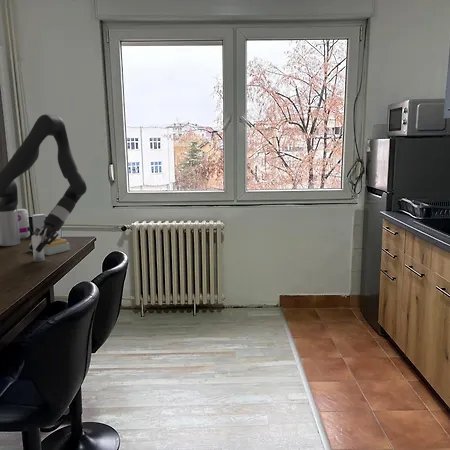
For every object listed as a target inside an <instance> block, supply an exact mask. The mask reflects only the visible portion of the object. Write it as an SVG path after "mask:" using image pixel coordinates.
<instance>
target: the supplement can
mask: <svg viewBox="0 0 450 450" xmlns="http://www.w3.org/2000/svg"><path fill="white" fill-rule="evenodd" d="M17 214H18V223H19V233H20V239H25V238H29V237H30V236H31V232H30V222H29V221H30V220H29V212H28V210H27V209H26V208H17Z"/></svg>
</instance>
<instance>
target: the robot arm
mask: <svg viewBox="0 0 450 450" xmlns="http://www.w3.org/2000/svg"><path fill="white" fill-rule="evenodd" d="M48 136H50V137H51V136H53V138H54V141H55V142H56V145H57V163H58V166H59V169H60V172H61V174H62V176H63V177H64V179H66V180H67V182H68V185H69V186H68V187H67V189H66V191H65V193H64V194H63V195H62V197H61V198H60V199H59V200H58V201H57V203H56V204H55V206H54V207H53V208H52V209H51V210H50V212H49V213H48V215H47V216H45V220H44V226H43V227H42V228H41V229H39V228H37V229H36V230H35V232H38V234H42V235H43V236H42V238H43V239H42V241H41V242H42V243H40V244H39V245H38V246H37V248H36V251H38V252H41V250H42V249H43V248H44V246H45V245H47V244H48V245H50V244H51V243H52V242H53V241H54V240H55V238H56V237H57V236H58V235H59V234H58V233H57V232H56V231H59V230H60V229H61V230H62V228H63V226H64V225H65V223H66V222H67V220H68V219H69V216H70V214H71V213H72V212H73V210H74V209H75V206H76V205H77V204H78V202H79V200H80V199H81V198H82V197H83V195H85V193H87V184H86V181H85V180H84V178H83V176H82V175H81V174H80V172H79V169H78V167H77V164H76V162H75V159H74V157H73V153H72V150H71V146H70V142H69V137H68V134H67V129H66V124H65V122H64V120H63V119H62V118H61V116H58V115H54V114H41V115H40V116H39V117H38V118H37V119H36V121H35V122H34V125H33V127H32V128H31V129H30V131H29V133H28V135H27V136H26V138H25V139H24V140H23V142H22V143H21V144H20V146H19V147H18V148H17V149H16V151H15V152H14V154H13V155H12V157H11V158H10V159H9V160H8V162H7V163H6V164H5V166H4V167H3V168H2V169H1V170H0V198H1V200H0V246H1V247H11V246H12V247H13V246H17V245H20V244H21V243H22V242H21V238H20V233H19V223H18V214H17V209H18V204H19V197H18V195H19V194H18V187H17V183H16V180H15V179H17V178H18V177H21V176H22V175H23V174H24V173H26V172H27V171H29V170H30V169H31V168H32V167H33V166H34V164H35V163H36V161H37V160H38V158H39V155H40V146H41V144H42V143H43V141H44V140H46V138H47V137H48ZM33 235H35V233H34V232H33ZM28 249H29V251H30V250H32V251H31V252H33V247H32V244H31V245H29V247H28Z"/></svg>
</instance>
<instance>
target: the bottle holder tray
mask: <svg viewBox="0 0 450 450" xmlns="http://www.w3.org/2000/svg"><path fill="white" fill-rule="evenodd" d="M31 244H32V239H31V240H30V243H29V244H28V245H29V246H30V245H31ZM29 251H30V252H33V251H32V250H30V249H29ZM67 251H71V245H70V242H68V240H67V239H65V238H64V239H63V238H61V237H60V238H55V240H54V241H53V242H52V243H51V244H50V245H48V244H47V245H45V246H44V254H45V256H46V255H47V256H51V255H55V254H60V253H64V252H67Z"/></svg>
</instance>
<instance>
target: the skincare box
mask: <svg viewBox="0 0 450 450" xmlns="http://www.w3.org/2000/svg"><path fill="white" fill-rule="evenodd" d="M31 218H32V228H33V229H32V230H33V234H34V233H35V230H36V229H37V228H39V229H41V228H42V227H43V226H44V220H45V219H46V214H45V213H40V214H39V213H37V214H32V215H31Z"/></svg>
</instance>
